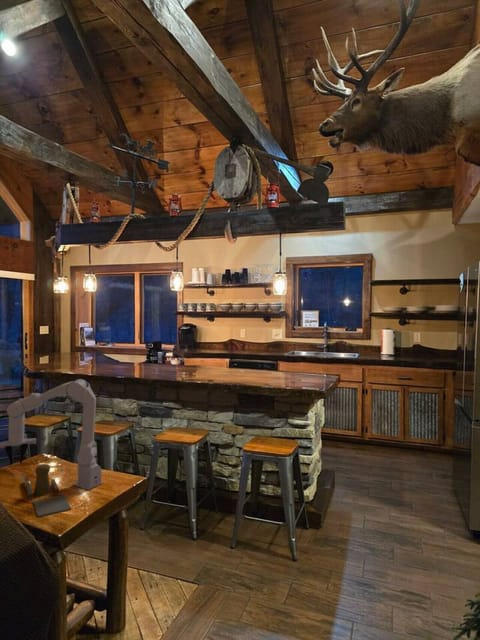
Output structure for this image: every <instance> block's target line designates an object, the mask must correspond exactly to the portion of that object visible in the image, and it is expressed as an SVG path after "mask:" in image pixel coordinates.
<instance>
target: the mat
mask: <svg viewBox="0 0 480 640" xmlns="http://www.w3.org/2000/svg"><path fill="white" fill-rule="evenodd" d="M32 502H33V503H32V504H33V506H34V509H35V513H36V516H37V518H39V517H45V516H49V515H54V514H58V512H59V513H62V512H67V511H71V510H72V508H71V505H70V503H69V500H67V497H66V495H65V494H60V495H59V496H56V495H55V496H52V497H51V496H50V497H47V498H41V499H36V500H33V501H32Z"/></svg>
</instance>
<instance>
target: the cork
mask: <svg viewBox="0 0 480 640" xmlns="http://www.w3.org/2000/svg"><path fill="white" fill-rule="evenodd" d="M50 470H51V466H50V465H49V464H47V463H45V464H43V463H42V464H39V465H37V466H36V467H35V474H36V477H35V478H36V479H35V486H34V490H33V496H36V497H43V496H47V495H49V494H50V493H51V482H50V477H49V473H50Z"/></svg>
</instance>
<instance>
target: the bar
mask: <svg viewBox="0 0 480 640" xmlns="http://www.w3.org/2000/svg"><path fill="white" fill-rule="evenodd" d="M23 479H24V480H23V482H24V488H25V489H26V492H27V497H28V499H29V501H30V500H34V491H33V489H32V484H31V483H32V482H31V480H29V477H28V476H25V477H23Z"/></svg>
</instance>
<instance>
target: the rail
mask: <svg viewBox="0 0 480 640" xmlns="http://www.w3.org/2000/svg"><path fill="white" fill-rule="evenodd" d="M50 487H52V491H53V493H54V495H55V497H56V496H60V488H59V487H58V484H57V482H56V479H55V478H53V479H52V478H51V479H50Z"/></svg>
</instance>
